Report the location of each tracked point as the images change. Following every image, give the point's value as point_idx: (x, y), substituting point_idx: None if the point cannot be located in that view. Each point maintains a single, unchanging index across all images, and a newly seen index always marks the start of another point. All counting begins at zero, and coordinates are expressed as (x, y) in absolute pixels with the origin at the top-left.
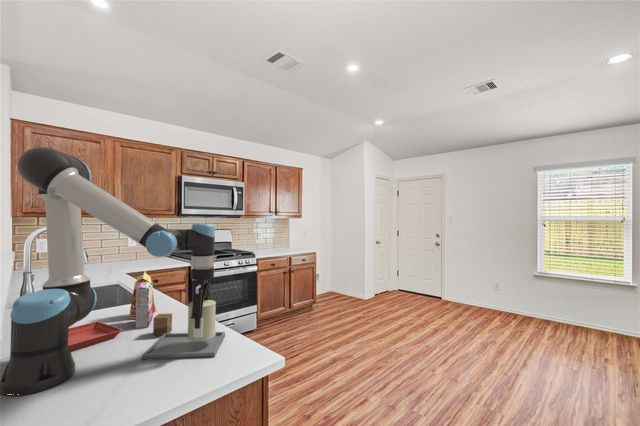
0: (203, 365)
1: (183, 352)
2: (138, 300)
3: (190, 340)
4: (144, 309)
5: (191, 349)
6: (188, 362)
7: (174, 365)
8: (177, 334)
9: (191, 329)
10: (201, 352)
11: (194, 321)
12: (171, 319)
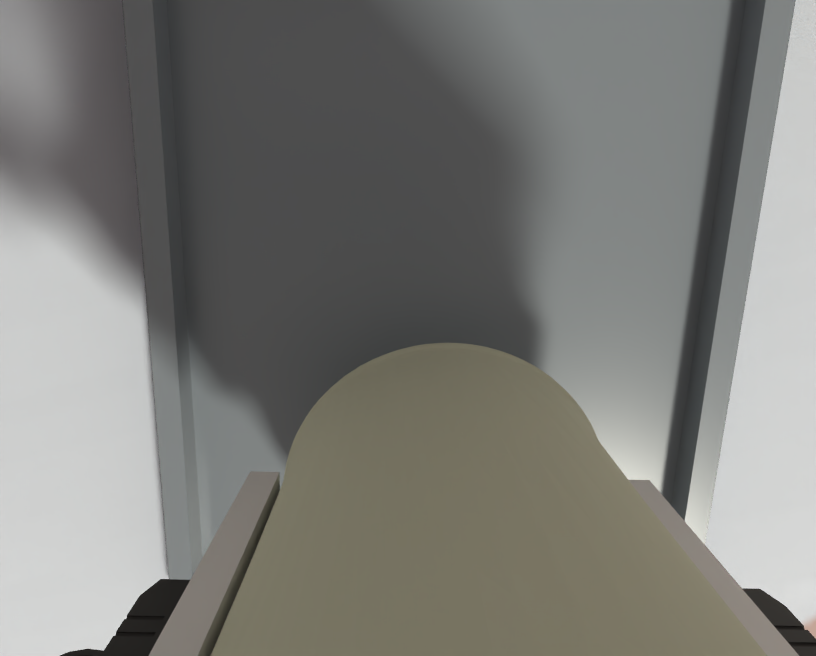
0: (36, 543)
1: (174, 354)
2: None
3: (316, 406)
4: None
5: (326, 384)
6: (89, 413)
7: (28, 309)
8: (741, 123)
9: (290, 479)
10: (171, 520)
11: (163, 642)
12: None
